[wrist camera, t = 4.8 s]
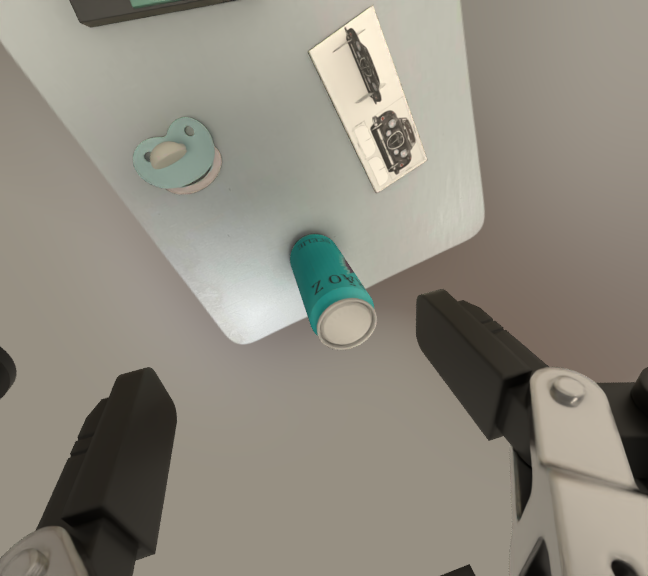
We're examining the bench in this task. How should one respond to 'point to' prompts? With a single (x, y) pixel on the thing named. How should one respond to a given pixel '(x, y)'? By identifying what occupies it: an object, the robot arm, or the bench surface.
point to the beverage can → (332, 293)
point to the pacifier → (179, 158)
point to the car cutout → (369, 99)
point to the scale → (130, 9)
